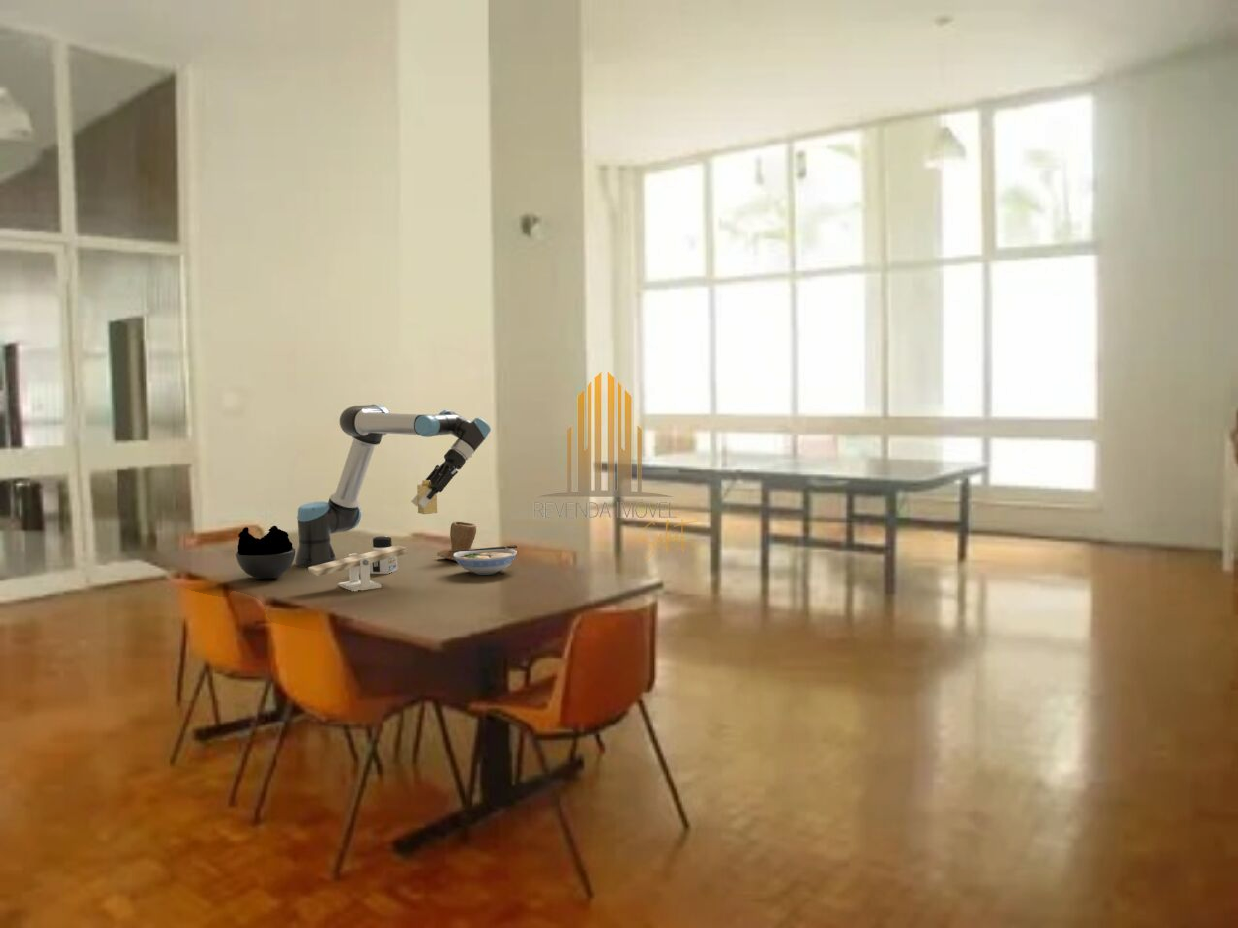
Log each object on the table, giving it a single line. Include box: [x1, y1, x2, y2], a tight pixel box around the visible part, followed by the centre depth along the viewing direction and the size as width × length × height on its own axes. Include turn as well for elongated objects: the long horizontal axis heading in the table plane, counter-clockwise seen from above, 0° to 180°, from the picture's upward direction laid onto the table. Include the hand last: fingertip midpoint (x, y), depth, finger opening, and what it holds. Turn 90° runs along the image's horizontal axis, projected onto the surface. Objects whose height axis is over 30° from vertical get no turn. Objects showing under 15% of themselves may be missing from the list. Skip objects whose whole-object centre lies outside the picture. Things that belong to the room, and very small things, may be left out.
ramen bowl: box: [449, 544, 518, 576], centre depth 357 cm, size 25×23×8 cm
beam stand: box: [338, 553, 382, 592], centre depth 338 cm, size 10×13×10 cm
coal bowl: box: [235, 525, 296, 580], centre depth 354 cm, size 20×20×19 cm
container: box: [370, 535, 398, 575], centre depth 364 cm, size 8×8×13 cm
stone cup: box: [436, 520, 477, 562], centre depth 386 cm, size 15×12×15 cm
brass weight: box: [416, 479, 438, 515], centre depth 351 cm, size 5×5×12 cm
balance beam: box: [307, 544, 408, 577], centre depth 337 cm, size 32×8×2 cm, turn 126°
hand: (417, 504), depth 349 cm, fingers closed on brass weight, 5 cm apart
